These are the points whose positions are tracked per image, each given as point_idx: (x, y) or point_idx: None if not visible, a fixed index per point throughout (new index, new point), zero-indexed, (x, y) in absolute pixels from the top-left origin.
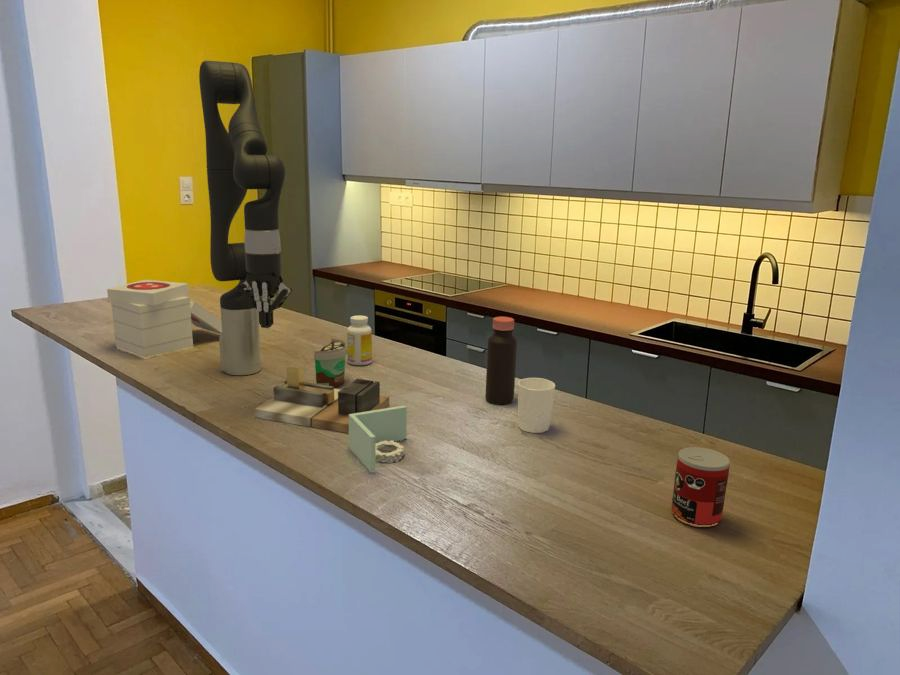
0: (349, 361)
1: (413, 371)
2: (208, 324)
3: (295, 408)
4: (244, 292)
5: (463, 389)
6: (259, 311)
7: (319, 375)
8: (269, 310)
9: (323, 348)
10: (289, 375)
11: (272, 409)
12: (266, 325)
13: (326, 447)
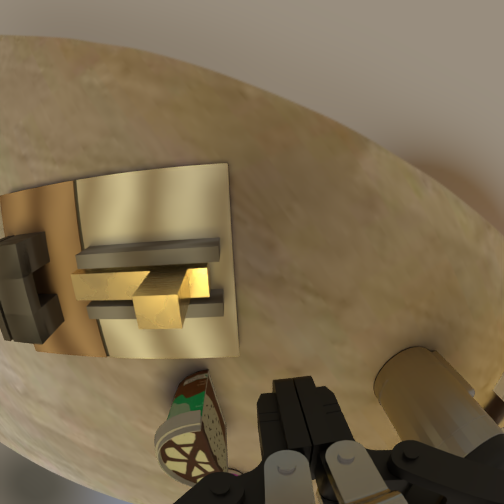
0: (234, 473)
1: (123, 468)
2: None
3: (135, 212)
4: (498, 492)
5: (25, 421)
6: (347, 444)
7: (197, 389)
8: (264, 470)
9: (208, 455)
10: (172, 282)
11: (182, 179)
12: (274, 387)
13: (23, 119)
